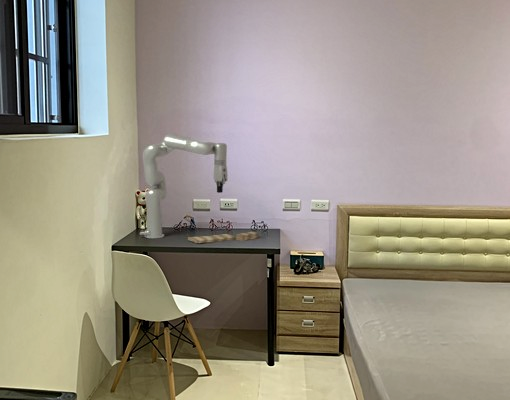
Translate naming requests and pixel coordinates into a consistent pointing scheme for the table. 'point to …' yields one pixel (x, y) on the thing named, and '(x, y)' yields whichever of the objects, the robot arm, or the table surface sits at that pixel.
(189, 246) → the table surface
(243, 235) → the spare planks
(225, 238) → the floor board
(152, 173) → the robot arm
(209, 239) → the plank
